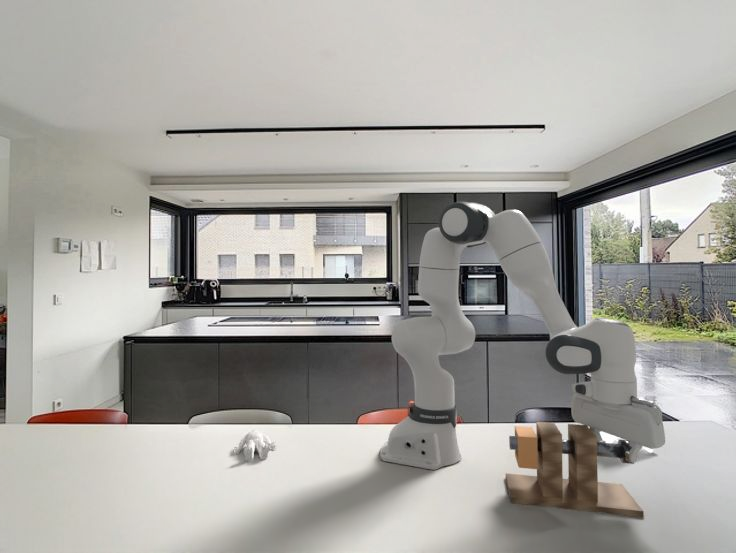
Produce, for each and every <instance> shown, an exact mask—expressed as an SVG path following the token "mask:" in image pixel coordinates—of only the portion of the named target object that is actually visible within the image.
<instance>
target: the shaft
mask: <svg viewBox="0 0 736 553" xmlns="http://www.w3.org/2000/svg"><path fill="white" fill-rule="evenodd" d="M508 437H509V438H508V441H509V442H508V443H509V445H508V446H509V450H513V451H515V450H518V439H517V436H515V435H509V436H508ZM617 440H618V442H617V443H614V442H613V443H601V442H597V458H599V457H601V458H611V459H619V461H620V462H621V463H622V464H629V465H630V464H631V465H633V464H634V465H635V463H636V462H634V463H632V462H630V461H627V460H626V459H625V457H626V456H625V452H629V451H630V450H631V448H632V447H631V446H630V445H629V441H628V440H625V439H617ZM537 452H541V438H537ZM568 454H572V455H575V441H574V440H568V439H562V455H568Z"/></svg>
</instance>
